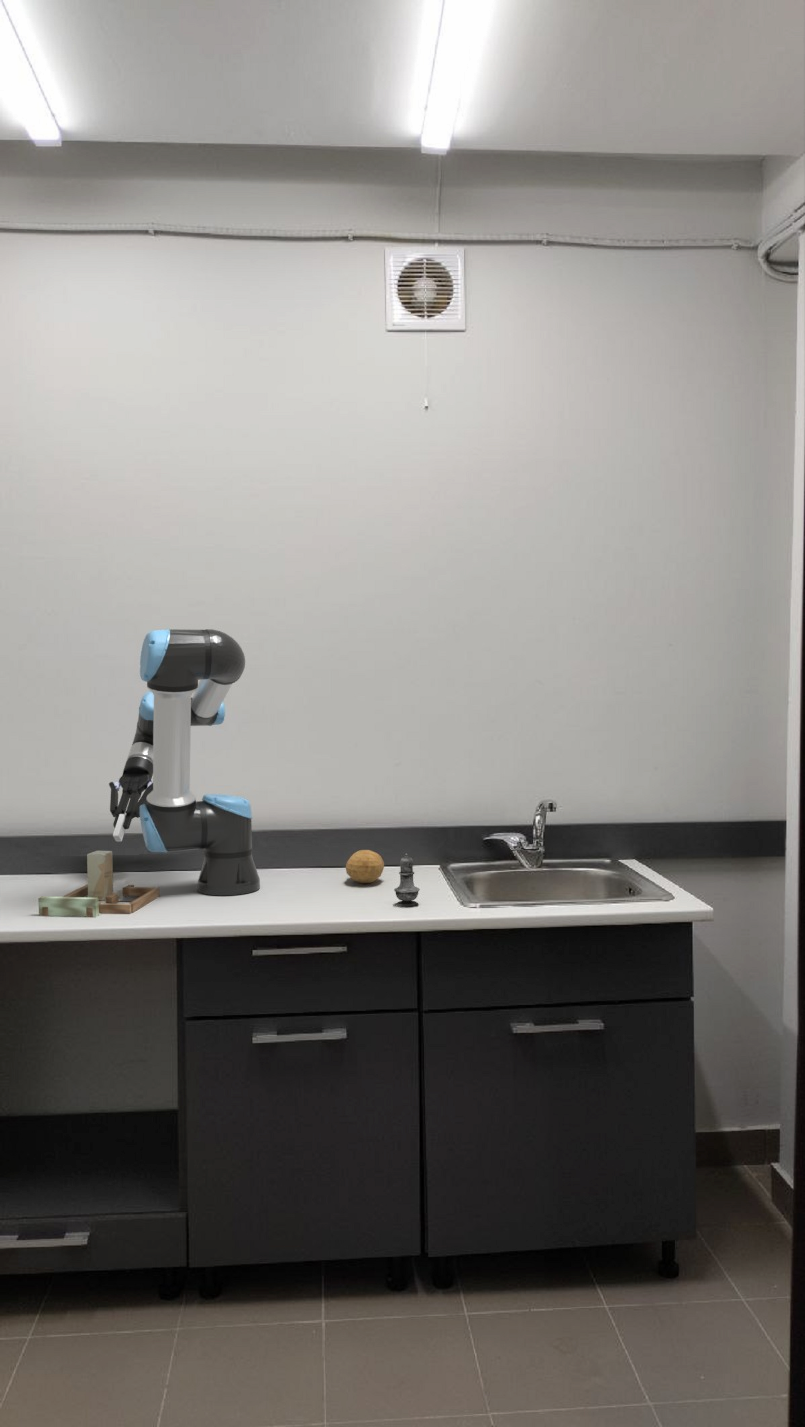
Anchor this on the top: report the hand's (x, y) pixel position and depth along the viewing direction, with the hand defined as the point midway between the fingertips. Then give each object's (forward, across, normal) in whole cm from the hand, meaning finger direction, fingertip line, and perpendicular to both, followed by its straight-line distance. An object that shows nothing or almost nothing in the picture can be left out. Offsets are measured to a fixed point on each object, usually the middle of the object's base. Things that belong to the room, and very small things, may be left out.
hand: (117, 838), depth 276 cm
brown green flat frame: (+21, -4, +5) cm, 22 cm away
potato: (+1, -61, -16) cm, 63 cm away
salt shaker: (+17, -75, 0) cm, 77 cm away
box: (+17, -1, 0) cm, 17 cm away
